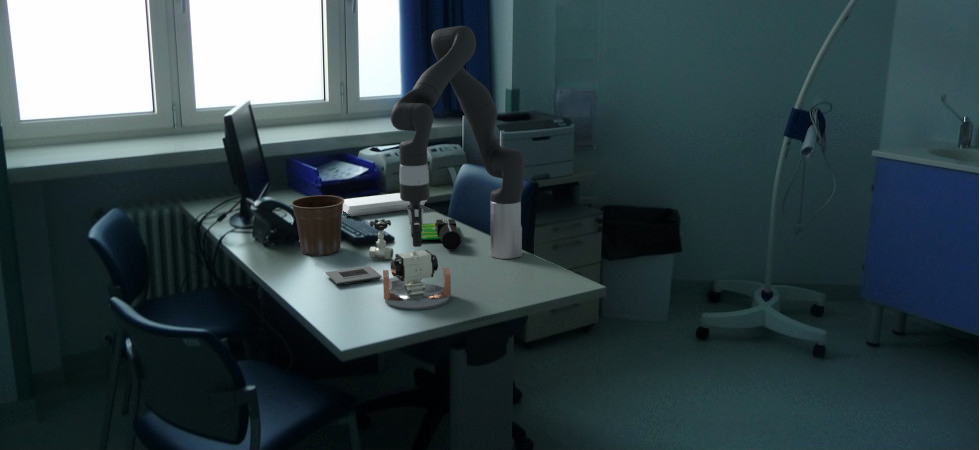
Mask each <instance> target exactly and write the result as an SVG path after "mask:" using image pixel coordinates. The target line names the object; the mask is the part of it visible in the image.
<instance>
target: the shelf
mask: <svg viewBox="0 0 980 450" xmlns="http://www.w3.org/2000/svg"><path fill="white" fill-rule="evenodd" d="M343 199H344V203H343V211H344V212H346V213H347V214H351V215H352V216H351V215H350V216H351V217H357V216H358V217H359V216H367V215H374V214H384V213H390V212H391V213H392V212H399V211H408V208H407V205H410V202H409V201H408V202H407V201H403V200H402V199H401V198H400V192H396V193H390V194H389V193H387V194H378V195H370V196H362V197H361V196H359V197H352V198H343ZM426 202H428V199H427V200H425V201H421V202H420V205H423V206H424V205H425V203H426Z"/></svg>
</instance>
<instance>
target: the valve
mask: <svg viewBox="0 0 980 450" xmlns="http://www.w3.org/2000/svg"><path fill="white" fill-rule="evenodd" d="M369 225H370V228H371V227H373V228H374V229H375V230H376V231H377V232H378V233H377V238H378V239H377V241H375V245H376V246H370V248H369V250H368V251H369V254H368V255H369V258H370V259H372V260H373V259H374V260H379V261H384V260H388V261H392V260H393V258H394V249H393V248H392V247H386V246H387V241H386V240H385V239H384V238H385V234H384V232H383V231H384V230H386V229H387V228H388V226H389V227H390V226H392V222H391V219H385V218H381V219H380V220H379V219H378V218H377V219H374V220H370V221H369Z"/></svg>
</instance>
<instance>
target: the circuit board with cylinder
mask: <svg viewBox="0 0 980 450" xmlns="http://www.w3.org/2000/svg"><path fill="white" fill-rule="evenodd" d="M422 229H423V230H422V232H421V240H422V241H431V240H433V241H434V240H437V242H441V244H442V247H443V248H445V249H446V250H448V251H455V250H456V249H458V248H459V247H460V245H461V244H462V235H461V233H460V232H459V229H458V227H457V221H456V220H455V218H447V219H446V218H445V219H436V221H435V222H434V223H423V224H422Z"/></svg>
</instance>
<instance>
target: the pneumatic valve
mask: <svg viewBox="0 0 980 450" xmlns="http://www.w3.org/2000/svg"><path fill="white" fill-rule="evenodd" d="M393 258H394V259H392V260H390V261H391V262H390V271H391V274H392V276H393V278H394V277H397V278H398V279H399V280H401V281H406V284H405V285H404V290H405V292H406V293H409V294H410V295H411V296H414V295H421V294H423V293H424V291H425V289H426V286H425V284H426V282H424V281H422V280H423V279H428V278H434V274H435V272H437V271H438V268H439V260H438V258H437V256H436V255H435V254H433V253H432V252H431V251H429V250H428V249H424V250H418V251H417V250H416V249H412V251H410V252H402V253H395V255H394V257H393Z"/></svg>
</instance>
